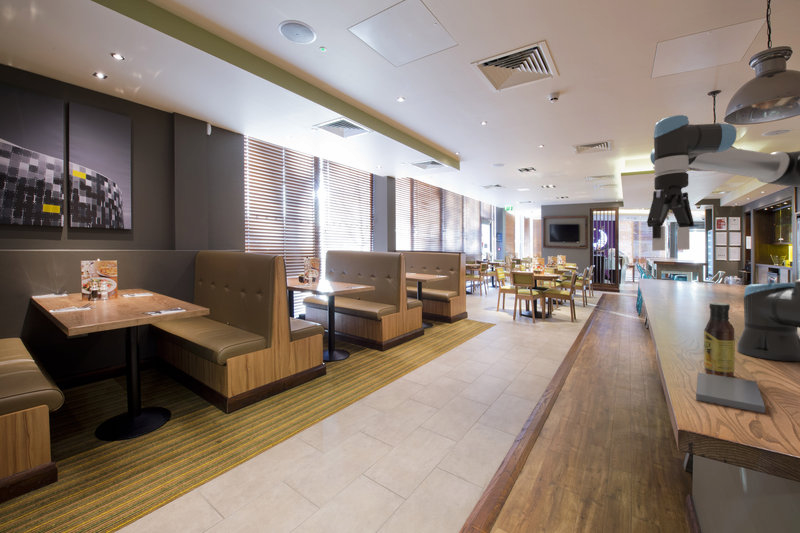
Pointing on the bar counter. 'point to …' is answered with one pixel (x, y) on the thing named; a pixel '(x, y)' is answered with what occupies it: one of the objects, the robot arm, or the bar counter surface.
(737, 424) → the bar counter surface
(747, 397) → the gray rectangular mat
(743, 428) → the bar counter surface
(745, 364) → the bar counter surface
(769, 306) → the robot arm
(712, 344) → the sauce bottle
